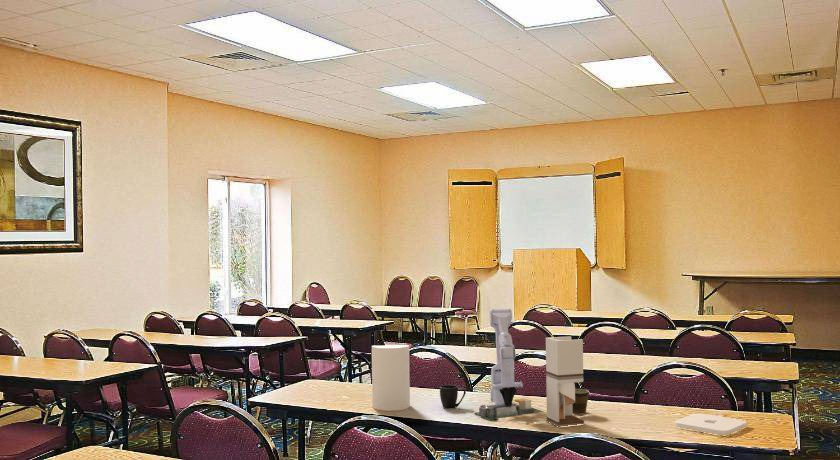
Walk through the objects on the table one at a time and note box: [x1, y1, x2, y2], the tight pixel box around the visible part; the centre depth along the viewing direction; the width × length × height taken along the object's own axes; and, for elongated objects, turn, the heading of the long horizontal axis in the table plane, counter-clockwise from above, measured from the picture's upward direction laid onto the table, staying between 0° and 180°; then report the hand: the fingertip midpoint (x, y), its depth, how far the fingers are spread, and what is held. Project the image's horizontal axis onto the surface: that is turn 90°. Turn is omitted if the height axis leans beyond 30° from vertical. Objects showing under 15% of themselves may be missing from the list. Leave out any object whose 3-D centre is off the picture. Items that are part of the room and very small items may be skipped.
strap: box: [483, 403, 517, 410], centre depth 323 cm, size 4×15×1 cm, turn 118°
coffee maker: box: [545, 336, 585, 428], centre depth 307 cm, size 11×11×35 cm
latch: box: [514, 397, 532, 410], centre depth 329 cm, size 5×5×5 cm
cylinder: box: [371, 344, 411, 412], centre depth 343 cm, size 17×17×28 cm
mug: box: [439, 384, 467, 410], centre depth 339 cm, size 8×12×10 cm
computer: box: [674, 412, 748, 435], centre depth 298 cm, size 22×22×3 cm
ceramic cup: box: [572, 388, 590, 415], centre depth 323 cm, size 13×10×10 cm
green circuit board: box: [473, 403, 544, 422], centre depth 325 cm, size 14×28×4 cm, turn 118°
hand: (508, 405), depth 325 cm, fingers closed, pressing on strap
